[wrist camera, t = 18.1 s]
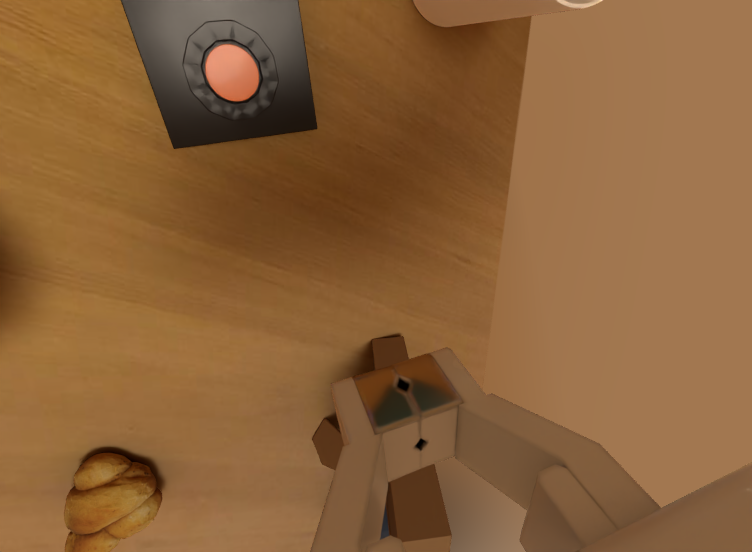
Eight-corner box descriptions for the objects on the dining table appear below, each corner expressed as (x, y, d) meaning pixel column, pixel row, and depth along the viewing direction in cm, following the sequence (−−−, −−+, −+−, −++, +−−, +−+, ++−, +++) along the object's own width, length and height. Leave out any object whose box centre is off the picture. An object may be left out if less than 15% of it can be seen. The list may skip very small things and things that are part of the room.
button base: (292, -8, 29) (300, -16, 26) (313, 125, 35) (321, 132, 31) (126, 0, 27) (112, -8, 23) (177, 143, 32) (171, 153, 29)
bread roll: (63, 450, 43) (34, 519, 37) (158, 435, 47) (147, 497, 40) (84, 513, 49) (62, 583, 43) (167, 496, 53) (158, 558, 46)
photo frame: (400, 331, 52) (510, 510, 31) (401, 429, 63) (482, 606, 43) (295, 359, 48) (342, 582, 28) (316, 457, 59) (360, 667, 39)
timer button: (251, 42, 27) (252, 42, 26) (262, 96, 29) (264, 98, 28) (199, 46, 26) (197, 46, 25) (215, 101, 28) (214, 104, 27)
